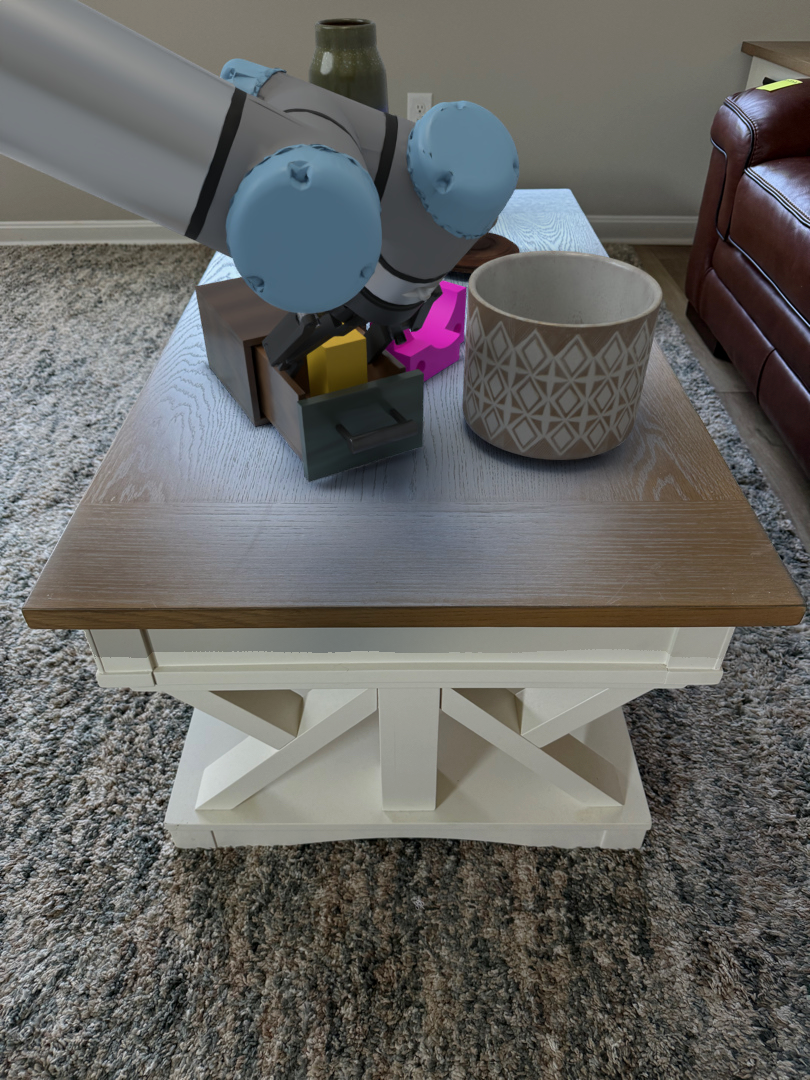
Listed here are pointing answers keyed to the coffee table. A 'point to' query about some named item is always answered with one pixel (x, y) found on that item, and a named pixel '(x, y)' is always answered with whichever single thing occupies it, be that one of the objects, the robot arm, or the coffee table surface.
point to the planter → (557, 352)
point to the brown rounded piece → (485, 251)
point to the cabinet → (236, 337)
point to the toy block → (435, 334)
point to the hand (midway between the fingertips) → (325, 362)
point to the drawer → (343, 414)
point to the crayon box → (338, 364)
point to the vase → (350, 61)
